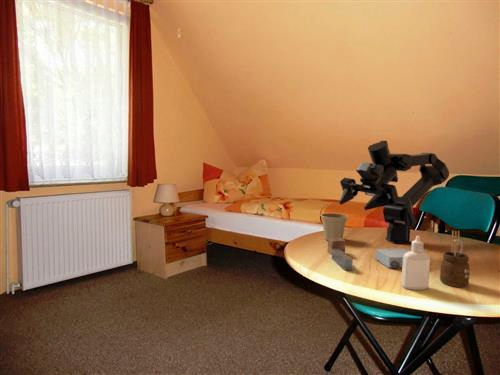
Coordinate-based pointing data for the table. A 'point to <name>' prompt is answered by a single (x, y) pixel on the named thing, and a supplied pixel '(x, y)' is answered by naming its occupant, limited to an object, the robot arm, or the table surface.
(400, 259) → the cart
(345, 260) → the buffer
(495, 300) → the table surface
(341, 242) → the block
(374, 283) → the table surface
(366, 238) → the table surface
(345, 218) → the flower pot
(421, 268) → the eye dropper bottle
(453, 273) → the utensil holder
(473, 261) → the table surface
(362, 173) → the robot arm
